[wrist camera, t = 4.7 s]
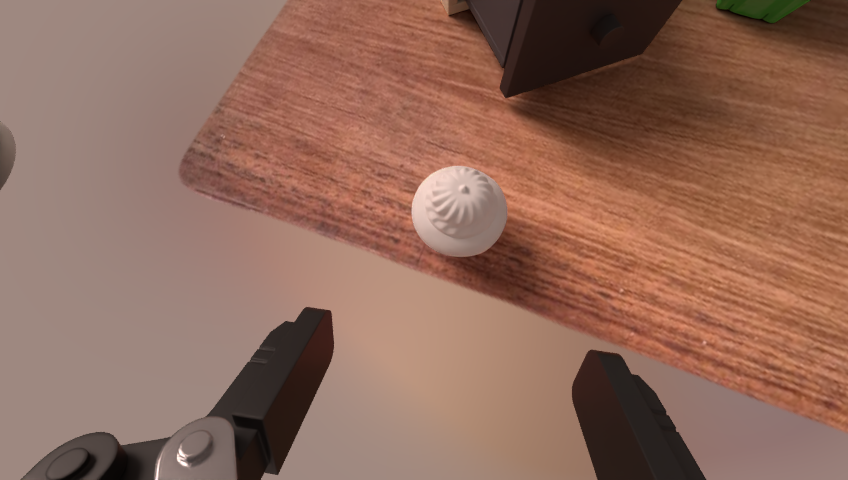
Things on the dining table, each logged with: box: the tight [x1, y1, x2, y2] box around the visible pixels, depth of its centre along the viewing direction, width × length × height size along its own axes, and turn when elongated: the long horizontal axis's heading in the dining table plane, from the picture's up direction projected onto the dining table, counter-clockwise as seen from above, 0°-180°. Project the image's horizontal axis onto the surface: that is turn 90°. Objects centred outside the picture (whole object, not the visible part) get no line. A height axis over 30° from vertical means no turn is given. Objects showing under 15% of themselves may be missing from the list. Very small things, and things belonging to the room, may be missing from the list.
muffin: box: [412, 166, 507, 257], centre depth 20 cm, size 6×6×7 cm
